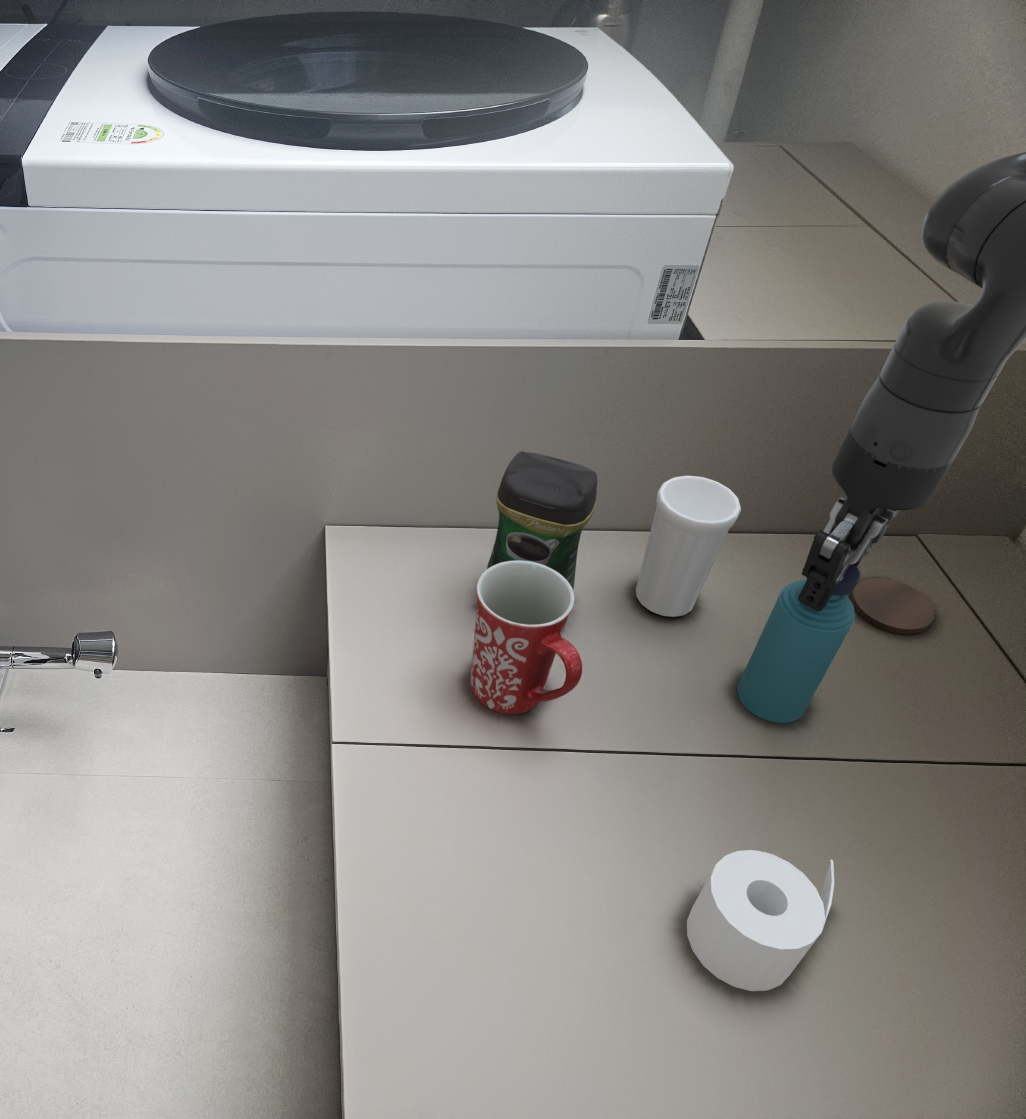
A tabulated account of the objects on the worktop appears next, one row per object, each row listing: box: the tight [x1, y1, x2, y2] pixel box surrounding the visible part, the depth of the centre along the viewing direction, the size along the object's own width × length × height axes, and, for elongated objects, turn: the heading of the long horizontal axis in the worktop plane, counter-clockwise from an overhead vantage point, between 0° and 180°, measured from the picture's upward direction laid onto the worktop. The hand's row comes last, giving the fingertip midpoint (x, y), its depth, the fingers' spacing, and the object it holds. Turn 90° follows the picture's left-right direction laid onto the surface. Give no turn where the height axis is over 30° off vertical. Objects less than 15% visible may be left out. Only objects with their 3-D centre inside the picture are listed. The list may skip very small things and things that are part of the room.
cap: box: [805, 564, 861, 596], centre depth 86 cm, size 4×4×2 cm
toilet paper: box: [686, 849, 835, 992], centre depth 77 cm, size 8×11×7 cm
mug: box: [469, 561, 583, 715], centre depth 93 cm, size 13×9×14 cm
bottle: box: [736, 579, 856, 724], centre depth 92 cm, size 6×6×17 cm
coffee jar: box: [485, 450, 598, 591], centre depth 102 cm, size 10×8×19 cm
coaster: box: [850, 577, 935, 635], centre depth 106 cm, size 8×8×1 cm
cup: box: [635, 475, 742, 618], centre depth 103 cm, size 8×8×14 cm
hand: (822, 592), depth 88 cm, fingers closed on cap, 4 cm apart
